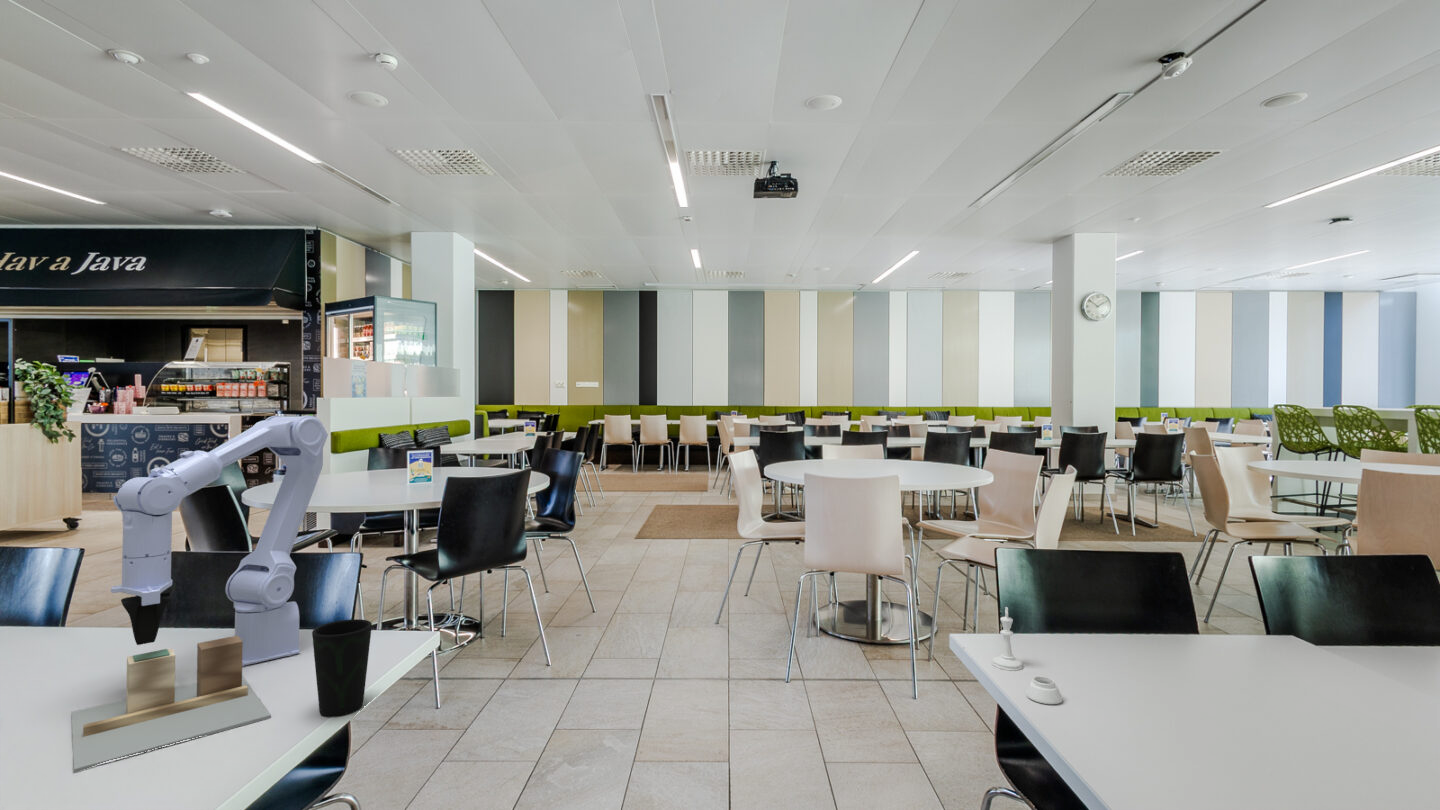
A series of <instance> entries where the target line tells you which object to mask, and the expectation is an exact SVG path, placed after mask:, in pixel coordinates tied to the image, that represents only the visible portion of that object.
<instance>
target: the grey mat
mask: <svg viewBox="0 0 1440 810" xmlns="http://www.w3.org/2000/svg"><path fill="white" fill-rule="evenodd" d="M245 685H246V686H247V687H248V695H247V696H243V697H239V698H235V699H231V700H227V701H223V702H219V703H215V704H212V705H208V706H204V707H200V708H196V709H192V710H188V711H184V712H180V713H176V714H172V715H168V716H164V717H160V718H156V719H152V720H148V721H144V722H140V723H136V724H132V725H128V726H124V727H120V728H117V729H113V730H109V731H105V732H101V733H97V734H93V735H89V736H85V737H83V725H85V724H89V723H93V722H97V721H101V720H105V719H109V718H114V717H118V716H122V715H126V698H125V699H121V700H117V701H113V702H108V703H103V704H99V705H96V706H95V705H94V706H90V707H86V708H83V709H82V708H81V709H78V710H73V711H71V714H70V715H71V738H72V737H73V739H72V761H73V763H74V764H73V773H78V772H81V770H82V771H85V770H88V769H87V768H89V767H92V766H95V765H97V764H100V763H103V762H106V761H109V760H113V759H117V758H121V757H125V756H129V755H133V754H136V753H141V752H145V751H148V750H152V749H155V748H159V747H162V746H165V745H170V744H173V743H176V742H180V741H183V740H187V739H192V738H196V737H199V736H204V737H206V736H205V735H207V736H210V734H211V735H214V734H218V733H221V732H225V731H229V730H233V729H235V728H238V727H243V726H247V725H250V724H253V723H257V722H260V721H265V720H268V719H271V718H272V714H271V713H270V711H269V710H268V709H267V708H266V706H265V704H264V702H263V701H261V699H260V697H259V696H258V695H257V693H256V691H254V689H253V687H252V686H251V685H250V683H249V682H248V681H247V679H246V678H245V677H244V675H243V674H242V686H245ZM196 697H197V682H195V683H191V684H185V685H181V686H177V687H175V702H179V701H184V700H188V699H192V698H196ZM196 739H197V738H196ZM92 768H93V767H92ZM84 769H85V770H84ZM89 769H90V768H89Z"/></svg>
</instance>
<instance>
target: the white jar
mask: <svg viewBox="0 0 1440 810" xmlns="http://www.w3.org/2000/svg"><path fill="white" fill-rule="evenodd" d="M1025 696H1026V698H1028V699H1030V700H1032V701H1033V702H1036V703H1039V704H1041V705H1056V704H1057V705H1058V704H1060V703H1062V702H1063V699H1064V698H1063V695H1062V694H1061V692H1060V689H1059V688H1058V686H1057V685H1056V682H1055V680H1054V679H1052V678H1050V677H1047V676H1039V675H1038V676H1037V675H1036V676H1034V677H1032V679H1031V681H1030V683H1029V684H1028V686H1027V688H1026V690H1025Z"/></svg>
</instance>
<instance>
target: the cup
mask: <svg viewBox="0 0 1440 810" xmlns="http://www.w3.org/2000/svg"><path fill="white" fill-rule="evenodd" d="M372 626H373V624H372V622H371V621H369V620H367V619H360V618H359V619H356V618H355V619H354V618H353V619H344V620H337V621H333V622H328V623H324V624H322V625H319V626H317V627H315V628H314V629H313V630H312V631H311V635H312V646H313V656H314V665H315V666H314V667H315V679H316V689H317V690H316V691H317V698H318V699H317V701H318V709H319V715H320V716H321V717H326V718H339V717H344V716H348V715H351V714H353V713H355V712H357V711H359V710H361V709H362V708H363V706H364V699H365V692H366V691H365V689H366V682H367V672H368V665H369V664H368V663H369V654H370V645H371V644H370V643H371V637H372V635H371V634H372Z"/></svg>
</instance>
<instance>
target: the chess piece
mask: <svg viewBox="0 0 1440 810" xmlns="http://www.w3.org/2000/svg"><path fill="white" fill-rule="evenodd" d="M1004 614H1005V615H1004V616H1001V617H1000V623H1001V625H1002V628H1003V629H1001V630H1000V631H999V633H1000V635H1003V641H1002V642H1003V643H1002V649H1001V653H999V655H997V656H994V657H992V659H991V660H992V661H991V665H993V667H995V668H998V669H1000V670H1005V671H1011V672H1012V671H1020V670H1022V669H1023V667H1024V666H1023V663H1022V661H1021V660H1020V659H1018V658H1016V657H1015V656H1014V654H1013V652H1012V644H1011V636H1013V635H1014V632H1013V631H1012V630H1010V629H1011V628H1012V624H1013V621H1014V620H1013V618H1012V617H1009V608H1008V606H1005V607H1004Z"/></svg>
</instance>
